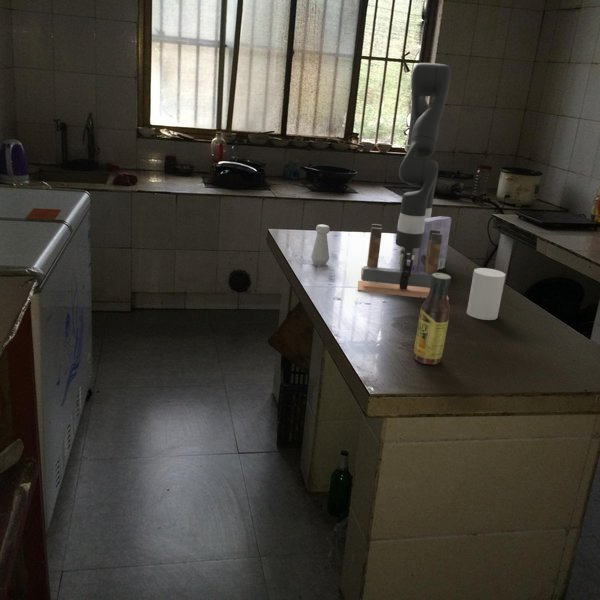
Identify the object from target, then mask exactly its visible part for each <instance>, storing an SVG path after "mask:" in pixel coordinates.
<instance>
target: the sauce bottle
mask: <svg viewBox="0 0 600 600" xmlns="http://www.w3.org/2000/svg"><path fill="white" fill-rule="evenodd" d="M451 280H452V277H451V275H449V274H446V273H443V272H437V273H434V274H432V277H431V287H430V291H429V294H428V296H427V298H425V299H424V301H423V304H422V305H421V307H420V311H419V312H420V313H419V317H418V322H417V323H418V324H417V330H416V337H415V340H414V341H415V343H414V346H413V352H414V353H413V358H414V360H416V361H417V362H419V363H420V364H422V365H427V366H428V365H430V366H431V365H432V366H433V365H438V364H439V363H440V362H441V358H442V356H443V352H444V347H445V343H446V336H447V331H448V325H449V320H450V319H449V318H450V317H449V316H450V312H451V305H450V302H449V300H447V296H448V294H449V293H448V291H449V286H450V284H451V282H452V281H451Z"/></svg>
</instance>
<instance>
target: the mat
mask: <svg viewBox="0 0 600 600" xmlns="http://www.w3.org/2000/svg"><path fill="white" fill-rule="evenodd" d="M399 286H400V285H399V284H390V283H380V282H370V281H362V280H357V291H358V292H361V291H364V292H365V293H371V292H373V293H374V294H380V295H381V294H384V295H392V296H403V297H412V298H420V297H421V299H426V298H427V296H428V294H429V291H430V288H429V287H419V286H410V285H408V286H407V289H400V287H399ZM364 292H363V293H364ZM373 293H372V294H373ZM447 300H448V301H449V300H450V298H449V296H448V295H447Z"/></svg>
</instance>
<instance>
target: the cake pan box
mask: <svg viewBox="0 0 600 600" xmlns="http://www.w3.org/2000/svg"><path fill="white" fill-rule="evenodd" d="M451 224H452V217H450V216H442V215H439V216H433V217H432V216H431V218H425V226H424V233H423V240H422V246H421V247H420V248H414V249H413V252H414V254H415V256H414V260H413V266H412V270H411V271H419V272H424V268H425V262H426V255H427V248H428V241H429V234H430V230H440V234H442V241H441V248H440V254H439V261H438V267H437V271H439V269H440V270H443V268H444V269H445V267H446V261H447V253H448V247H449V246H448V245H449V240H450V239H449V238H450V231H451Z"/></svg>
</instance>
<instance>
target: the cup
mask: <svg viewBox="0 0 600 600" xmlns="http://www.w3.org/2000/svg"><path fill="white" fill-rule="evenodd" d="M471 279H472V281H471V285H470V292H469V297H468V303H467V308H466V309H467V310H466V314H467V315H468V316H469V317H472V318H475V319H478V320H483V321H486V320H487V321H492V320H493V321H495V320H496V319H498V315H499V311H500V305H501V300H502V295H503V291H504V284H505V280H506V273H504V272H503V271H500V270H498V269H495V268H494V269H493V268H488V267H487V268H486V267H478V268H474V270H473V274H472V278H471Z"/></svg>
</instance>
